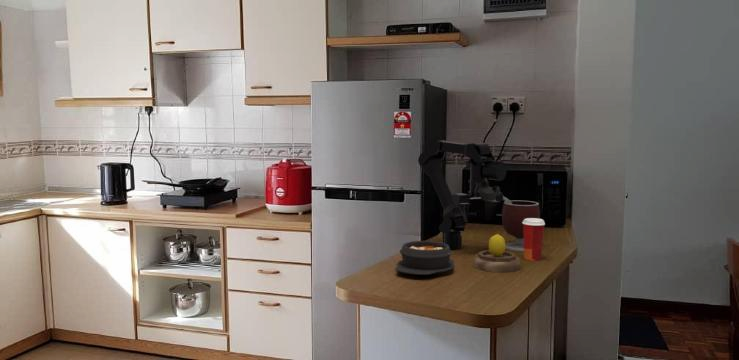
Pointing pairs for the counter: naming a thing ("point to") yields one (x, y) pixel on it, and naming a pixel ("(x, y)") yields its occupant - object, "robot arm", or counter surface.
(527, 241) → the paper cup
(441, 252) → the casserole
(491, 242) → the lemon
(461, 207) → the robot arm
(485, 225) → the counter surface
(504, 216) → the mate gourd
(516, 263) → the stand
